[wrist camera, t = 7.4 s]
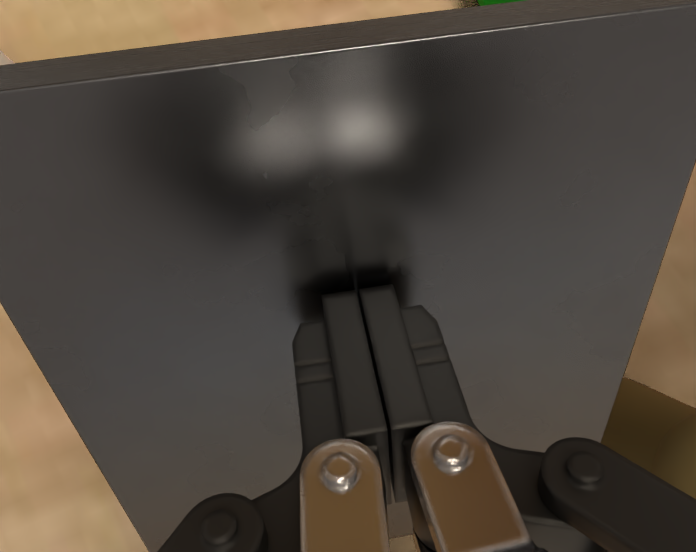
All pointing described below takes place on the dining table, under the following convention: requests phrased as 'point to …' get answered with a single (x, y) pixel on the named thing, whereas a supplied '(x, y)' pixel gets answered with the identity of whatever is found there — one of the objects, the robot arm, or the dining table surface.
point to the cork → (654, 434)
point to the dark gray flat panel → (340, 224)
